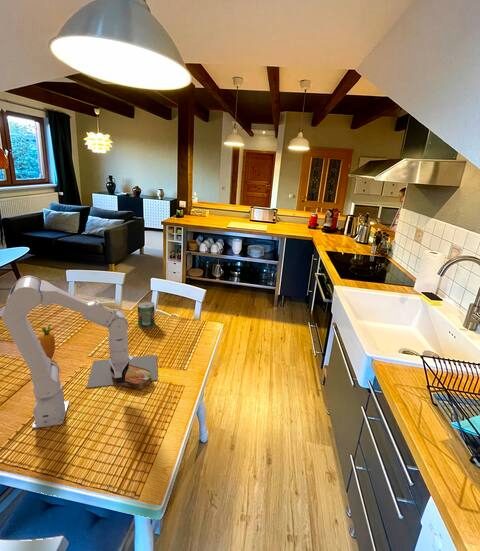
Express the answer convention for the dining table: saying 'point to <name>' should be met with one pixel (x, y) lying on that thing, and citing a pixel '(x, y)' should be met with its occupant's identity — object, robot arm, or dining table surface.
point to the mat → (102, 371)
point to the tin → (135, 377)
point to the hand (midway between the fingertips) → (121, 382)
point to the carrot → (48, 341)
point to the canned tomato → (146, 314)
